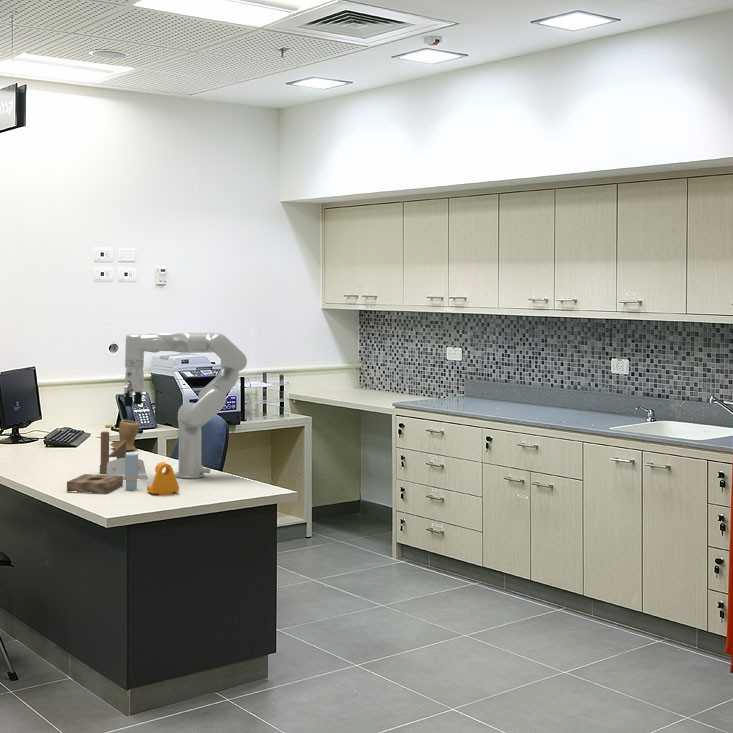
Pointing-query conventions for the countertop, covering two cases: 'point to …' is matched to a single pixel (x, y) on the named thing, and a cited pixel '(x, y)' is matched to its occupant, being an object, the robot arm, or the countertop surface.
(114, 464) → the hinge
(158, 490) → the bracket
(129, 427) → the brown flared piece
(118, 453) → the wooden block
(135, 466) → the peg
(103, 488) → the board
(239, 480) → the countertop surface
